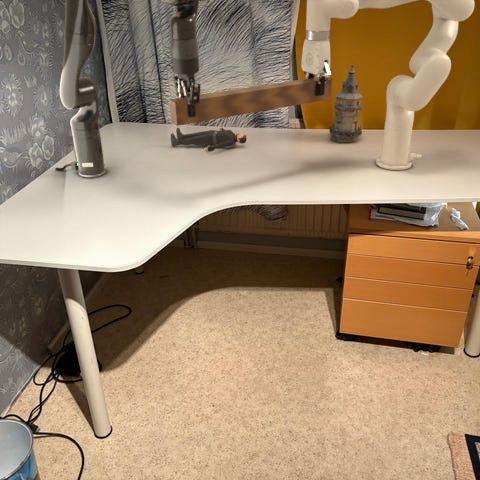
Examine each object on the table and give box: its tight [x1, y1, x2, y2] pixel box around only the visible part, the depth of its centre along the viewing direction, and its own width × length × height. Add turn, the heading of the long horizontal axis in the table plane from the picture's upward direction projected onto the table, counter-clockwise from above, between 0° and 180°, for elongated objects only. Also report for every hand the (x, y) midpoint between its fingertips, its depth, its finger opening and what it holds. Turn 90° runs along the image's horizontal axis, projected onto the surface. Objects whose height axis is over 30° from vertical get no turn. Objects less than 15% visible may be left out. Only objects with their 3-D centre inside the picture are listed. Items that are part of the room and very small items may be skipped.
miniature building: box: [328, 63, 363, 143], centre depth 214 cm, size 13×14×30 cm
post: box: [168, 76, 333, 127], centre depth 168 cm, size 56×5×7 cm, turn 119°
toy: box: [170, 127, 248, 153], centre depth 215 cm, size 26×6×30 cm
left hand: (188, 114), depth 159 cm, fingers closed on post, 4 cm apart
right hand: (315, 93), depth 179 cm, fingers closed on post, 4 cm apart
